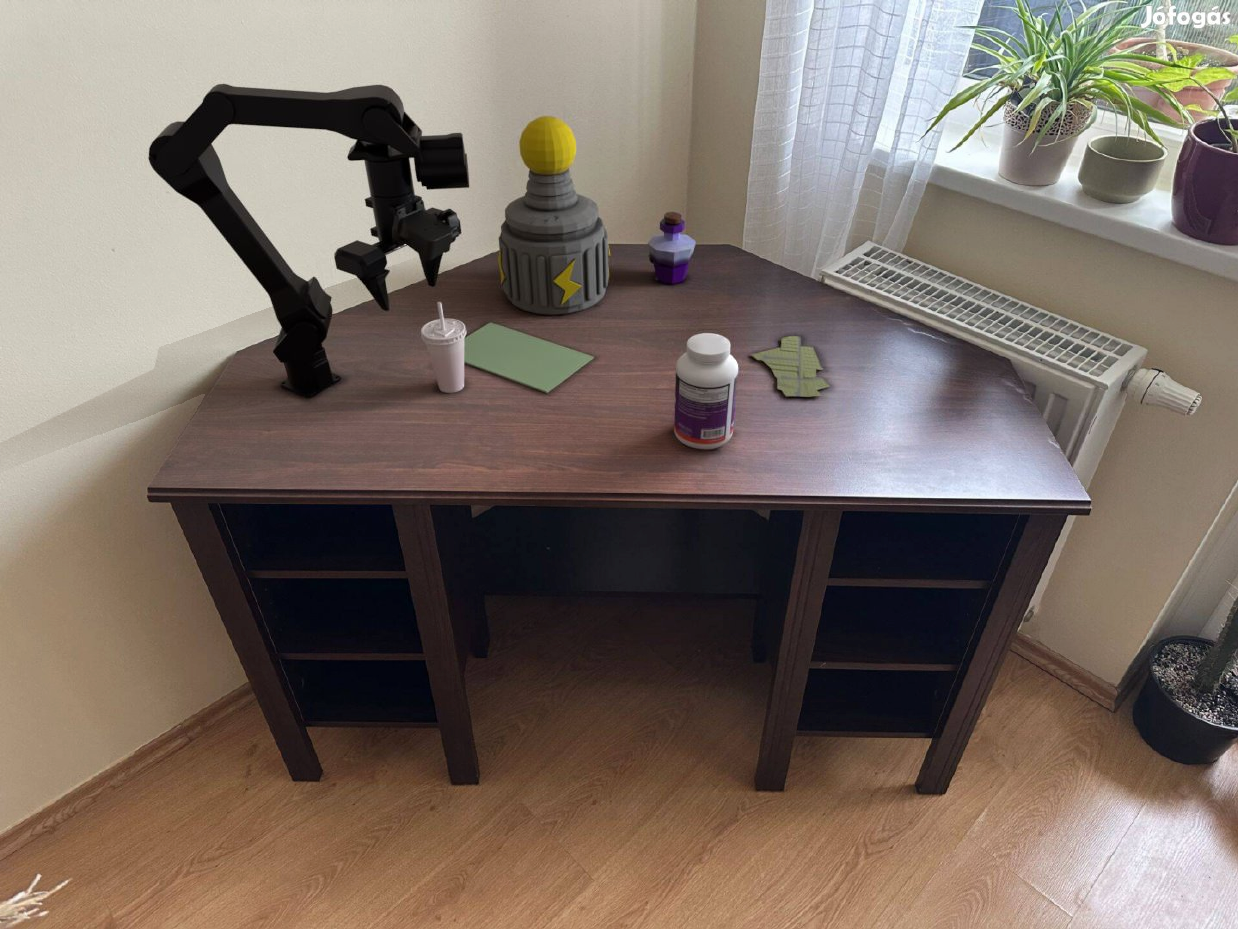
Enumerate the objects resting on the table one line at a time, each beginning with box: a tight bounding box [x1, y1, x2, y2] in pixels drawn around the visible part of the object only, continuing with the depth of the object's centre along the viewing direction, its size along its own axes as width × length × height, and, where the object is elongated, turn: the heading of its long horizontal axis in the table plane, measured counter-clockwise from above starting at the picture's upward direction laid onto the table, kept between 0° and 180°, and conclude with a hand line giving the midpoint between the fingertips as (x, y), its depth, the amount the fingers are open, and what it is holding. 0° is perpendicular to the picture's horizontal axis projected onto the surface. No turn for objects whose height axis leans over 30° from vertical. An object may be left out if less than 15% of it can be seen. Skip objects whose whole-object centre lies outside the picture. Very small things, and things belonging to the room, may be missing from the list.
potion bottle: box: [647, 211, 697, 286], centre depth 155 cm, size 9×9×12 cm
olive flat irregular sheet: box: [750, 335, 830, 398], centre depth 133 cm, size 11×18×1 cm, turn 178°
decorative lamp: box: [497, 115, 611, 316], centre depth 145 cm, size 19×19×30 cm
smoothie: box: [420, 301, 467, 394], centre depth 125 cm, size 6×6×14 cm
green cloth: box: [464, 322, 595, 394], centre depth 136 cm, size 21×12×1 cm, turn 56°
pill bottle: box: [673, 332, 739, 450], centre depth 115 cm, size 8×8×14 cm
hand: (409, 297), depth 124 cm, fingers open, 9 cm apart
